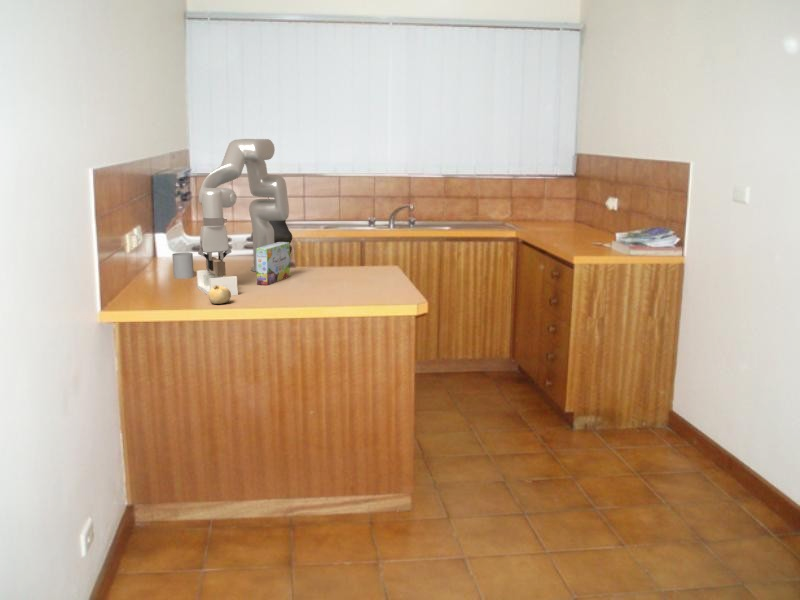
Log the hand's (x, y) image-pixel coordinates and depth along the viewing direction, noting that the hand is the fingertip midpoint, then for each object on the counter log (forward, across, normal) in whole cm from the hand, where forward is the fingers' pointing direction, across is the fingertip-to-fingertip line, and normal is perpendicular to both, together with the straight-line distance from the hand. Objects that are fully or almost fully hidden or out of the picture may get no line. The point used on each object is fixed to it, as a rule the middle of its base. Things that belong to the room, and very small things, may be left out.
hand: (215, 269), depth 300 cm
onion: (+9, +5, +22) cm, 24 cm away
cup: (+9, +4, -38) cm, 39 cm away
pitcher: (+8, -50, -78) cm, 93 cm away
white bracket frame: (+8, 0, 0) cm, 8 cm away
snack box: (+9, -27, -11) cm, 31 cm away
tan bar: (+1, 0, 0) cm, 1 cm away
